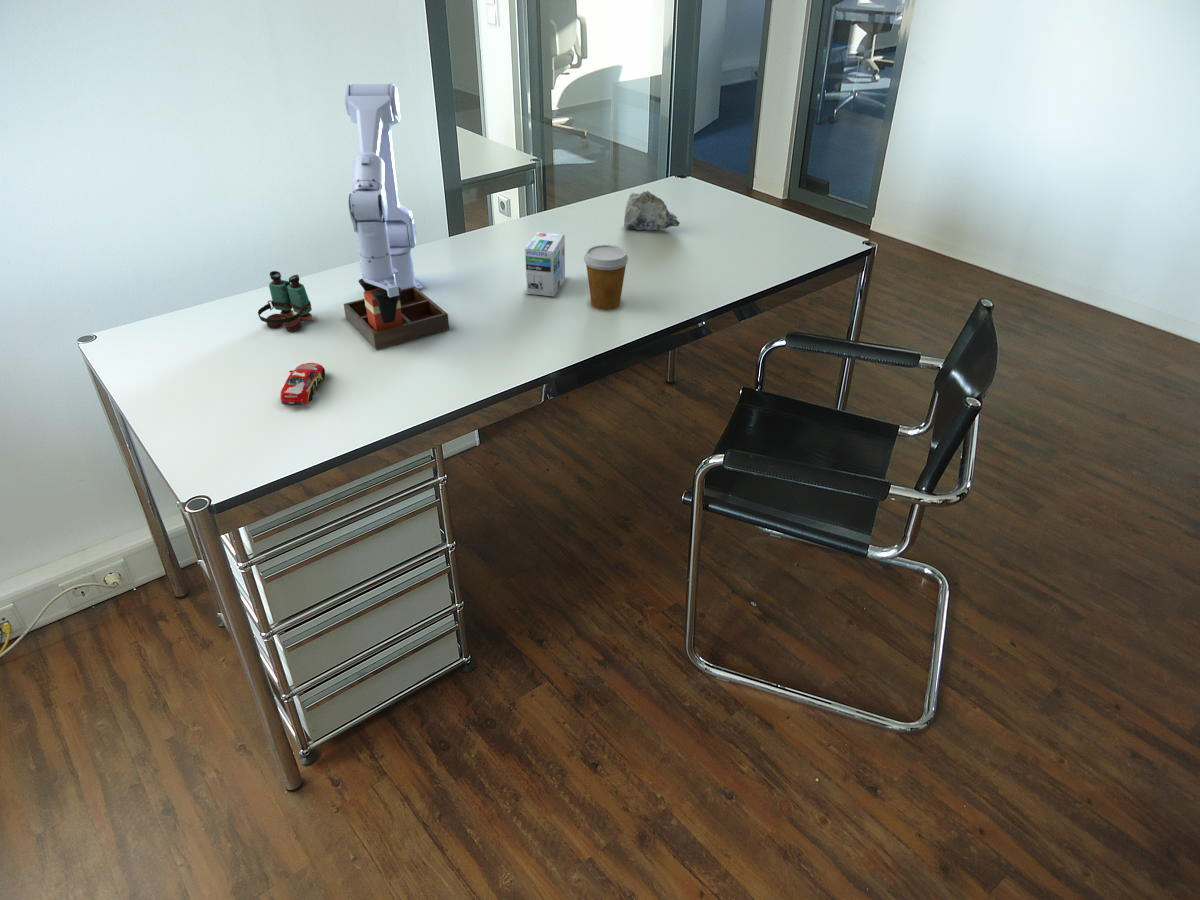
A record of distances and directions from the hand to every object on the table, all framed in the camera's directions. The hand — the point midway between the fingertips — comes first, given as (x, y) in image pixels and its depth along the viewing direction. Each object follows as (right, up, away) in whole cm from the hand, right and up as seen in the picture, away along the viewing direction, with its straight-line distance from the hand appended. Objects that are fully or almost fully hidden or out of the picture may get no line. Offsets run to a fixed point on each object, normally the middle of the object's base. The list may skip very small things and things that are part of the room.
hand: (384, 316), depth 172 cm
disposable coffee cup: (+45, +5, +16) cm, 48 cm away
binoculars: (-21, -1, +6) cm, 22 cm away
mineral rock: (+56, +31, +52) cm, 83 cm away
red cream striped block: (0, -1, +1) cm, 2 cm away
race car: (-11, -16, -15) cm, 24 cm away
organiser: (+1, 0, +7) cm, 7 cm away
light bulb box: (+31, +10, +23) cm, 40 cm away
